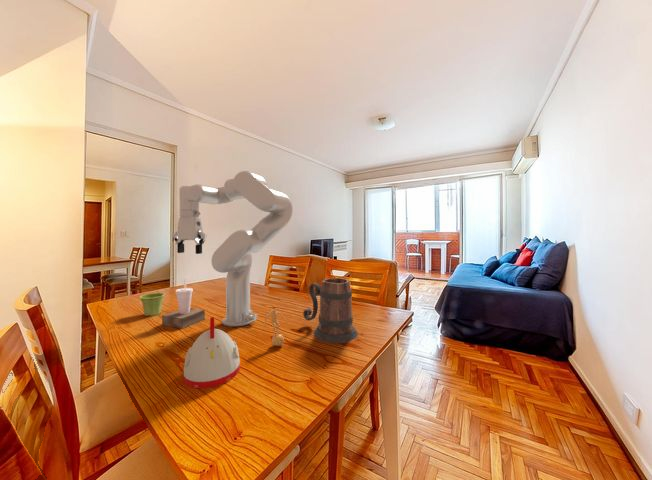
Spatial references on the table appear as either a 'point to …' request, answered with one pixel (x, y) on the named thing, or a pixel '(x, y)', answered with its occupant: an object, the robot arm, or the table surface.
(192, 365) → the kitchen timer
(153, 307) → the plant pot
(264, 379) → the table surface
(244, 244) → the robot arm
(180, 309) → the smoothie
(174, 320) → the plinth
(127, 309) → the table surface
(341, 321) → the tankard
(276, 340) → the figurine
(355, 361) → the table surface
